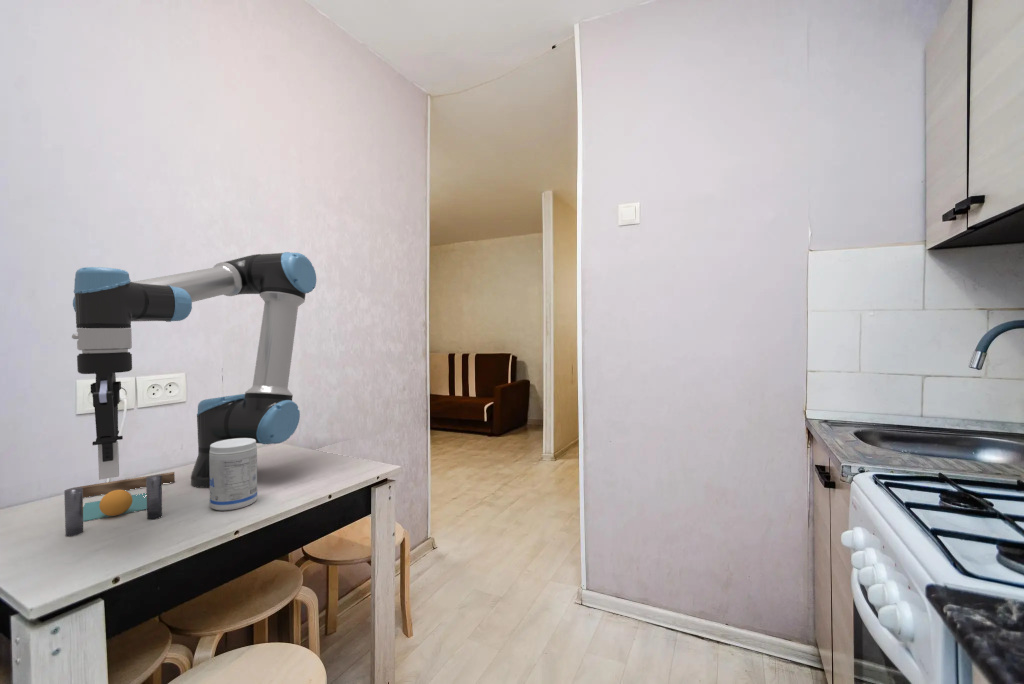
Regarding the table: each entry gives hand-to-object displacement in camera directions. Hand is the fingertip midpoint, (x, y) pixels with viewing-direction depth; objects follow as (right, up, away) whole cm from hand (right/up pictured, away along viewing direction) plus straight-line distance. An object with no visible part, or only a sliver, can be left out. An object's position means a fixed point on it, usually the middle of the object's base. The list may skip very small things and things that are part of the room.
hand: (109, 477), depth 83 cm
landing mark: (-16, -13, +21) cm, 30 cm away
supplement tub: (+10, -13, +22) cm, 27 cm away
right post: (-3, -13, +14) cm, 20 cm away
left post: (-13, -13, +6) cm, 20 cm away
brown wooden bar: (-25, -13, +32) cm, 43 cm away
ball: (-13, -11, +16) cm, 23 cm away
